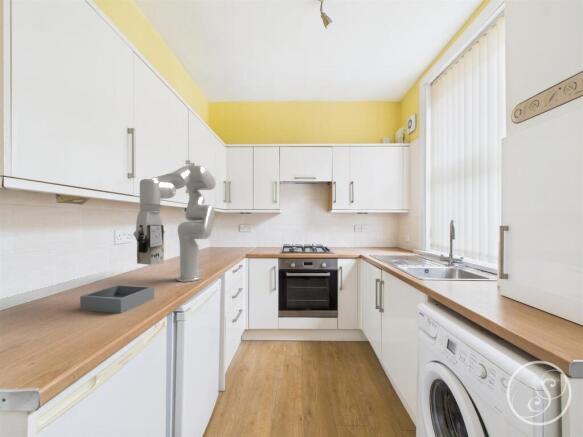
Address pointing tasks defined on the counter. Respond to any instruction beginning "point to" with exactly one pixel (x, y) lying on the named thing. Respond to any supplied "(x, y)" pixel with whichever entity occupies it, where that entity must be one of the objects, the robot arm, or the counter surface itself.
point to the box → (116, 298)
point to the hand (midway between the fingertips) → (150, 250)
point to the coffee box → (153, 246)
